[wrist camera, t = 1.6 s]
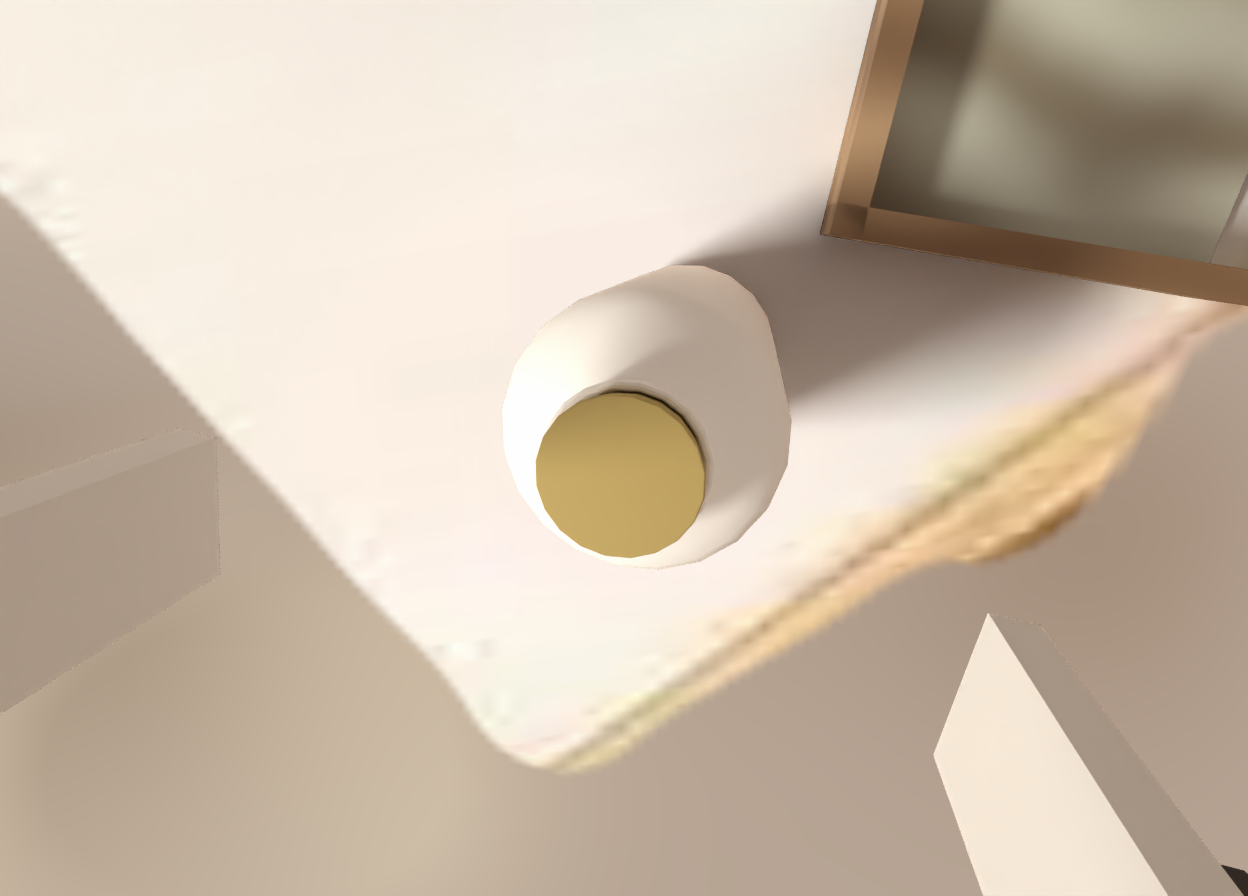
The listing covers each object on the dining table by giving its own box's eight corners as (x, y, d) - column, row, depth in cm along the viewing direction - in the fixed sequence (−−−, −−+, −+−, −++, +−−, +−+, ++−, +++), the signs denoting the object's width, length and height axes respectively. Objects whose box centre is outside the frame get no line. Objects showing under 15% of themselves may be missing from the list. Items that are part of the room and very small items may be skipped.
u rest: (909, -131, 26) (935, -192, 22) (1346, -84, 24) (1456, -142, 20) (819, 234, 30) (829, 234, 27) (1185, 296, 29) (1251, 306, 25)
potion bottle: (793, 281, 31) (846, 339, 14) (752, 451, 34) (754, 671, 17) (616, 248, 32) (466, 266, 15) (589, 416, 35) (436, 591, 18)
